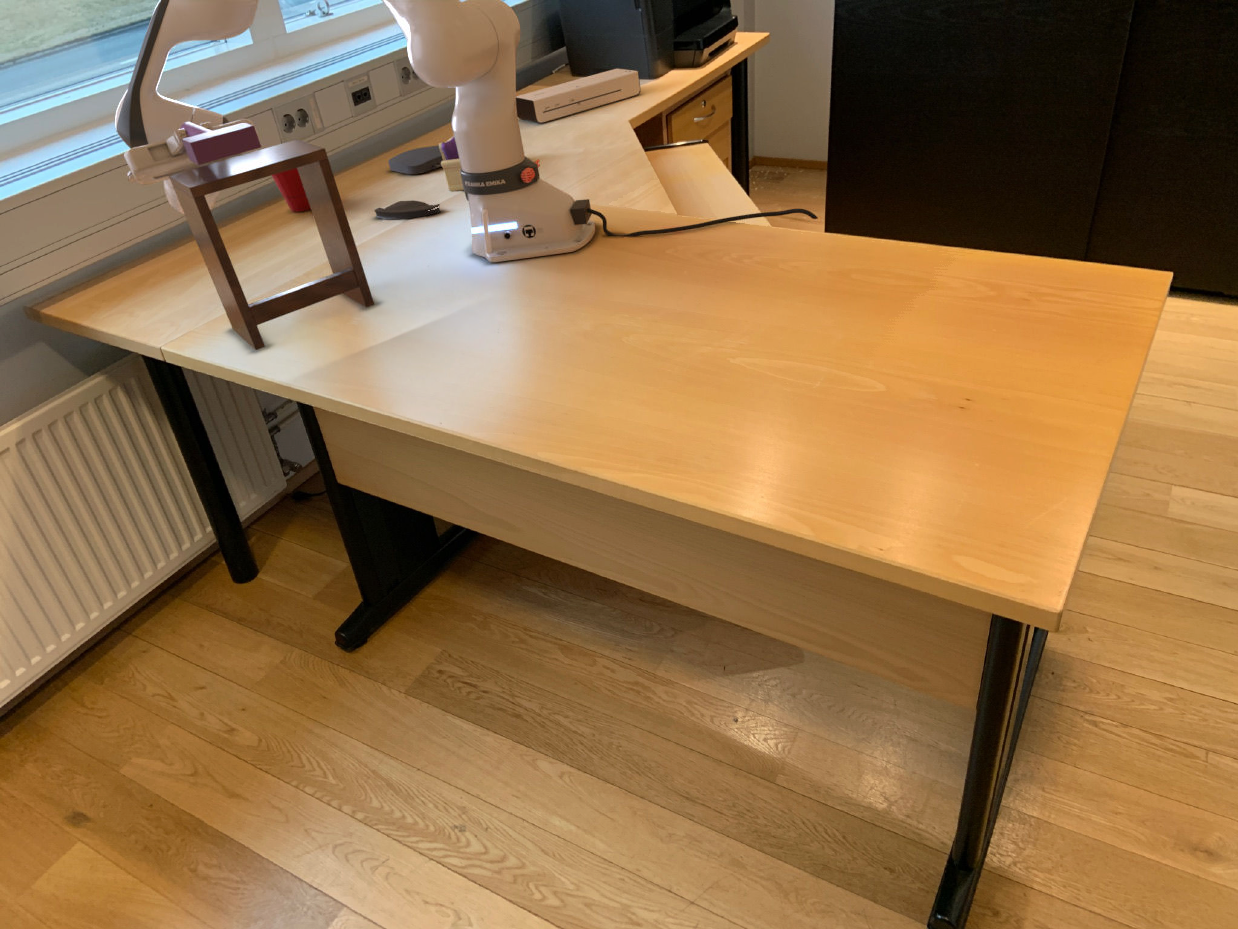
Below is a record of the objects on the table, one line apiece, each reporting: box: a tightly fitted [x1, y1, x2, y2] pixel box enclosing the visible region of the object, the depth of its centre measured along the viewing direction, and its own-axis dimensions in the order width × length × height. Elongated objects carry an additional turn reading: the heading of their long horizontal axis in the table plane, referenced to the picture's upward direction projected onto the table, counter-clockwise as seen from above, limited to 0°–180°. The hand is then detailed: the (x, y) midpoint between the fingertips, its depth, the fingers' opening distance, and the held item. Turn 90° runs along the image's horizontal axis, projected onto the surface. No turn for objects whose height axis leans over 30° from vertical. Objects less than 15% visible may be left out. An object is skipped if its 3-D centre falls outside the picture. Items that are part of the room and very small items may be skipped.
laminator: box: [516, 67, 641, 124], centre depth 246 cm, size 34×12×6 cm, turn 124°
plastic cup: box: [270, 168, 311, 213], centre depth 197 cm, size 11×11×12 cm
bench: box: [169, 139, 375, 351], centre depth 138 cm, size 20×12×25 cm, turn 127°
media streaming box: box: [387, 144, 443, 175], centre depth 217 cm, size 15×15×3 cm
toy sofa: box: [438, 134, 464, 192], centre depth 199 cm, size 21×9×10 cm, turn 169°
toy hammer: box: [180, 122, 262, 165], centre depth 131 cm, size 20×9×3 cm, turn 37°
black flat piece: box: [373, 199, 441, 220], centre depth 184 cm, size 8×14×2 cm, turn 57°
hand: (195, 130), depth 135 cm, fingers closed on toy hammer, 2 cm apart
